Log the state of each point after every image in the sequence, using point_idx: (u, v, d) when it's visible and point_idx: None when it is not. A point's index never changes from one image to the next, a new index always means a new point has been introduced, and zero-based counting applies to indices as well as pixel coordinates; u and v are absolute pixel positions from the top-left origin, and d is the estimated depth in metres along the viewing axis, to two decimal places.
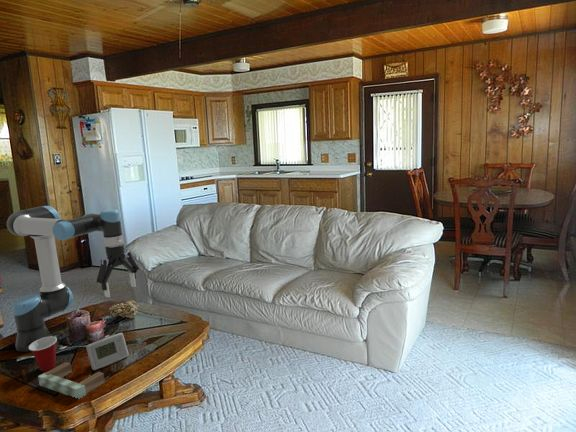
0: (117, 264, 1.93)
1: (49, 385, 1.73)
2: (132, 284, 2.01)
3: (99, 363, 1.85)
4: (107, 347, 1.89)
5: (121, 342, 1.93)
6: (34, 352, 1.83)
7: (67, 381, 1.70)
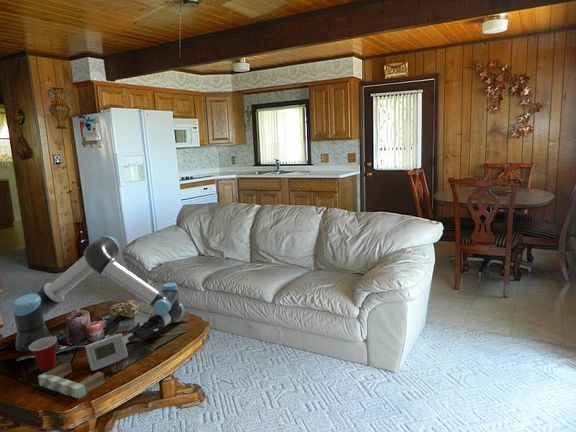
0: (145, 325, 2.09)
1: (49, 385, 1.73)
2: None
3: (98, 364, 1.85)
4: (106, 348, 1.89)
5: (120, 343, 1.93)
6: (34, 352, 1.83)
7: (67, 381, 1.70)
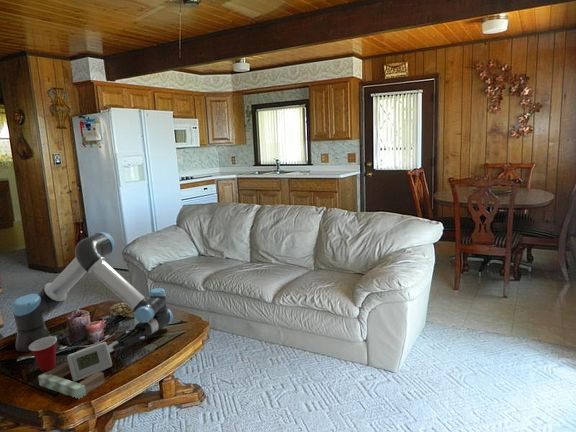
0: None
1: (49, 385, 1.73)
2: None
3: (80, 374, 1.77)
4: (89, 357, 1.81)
5: (104, 352, 1.85)
6: (34, 352, 1.83)
7: (67, 381, 1.70)
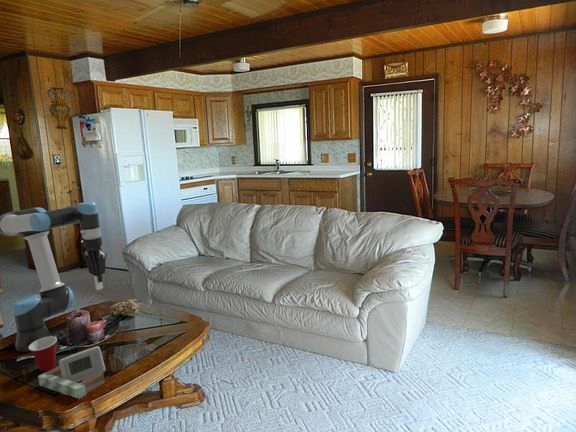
0: (91, 256, 1.94)
1: (49, 385, 1.73)
2: None
3: (72, 379, 1.74)
4: (81, 362, 1.78)
5: (97, 356, 1.82)
6: (34, 352, 1.83)
7: (67, 381, 1.70)
